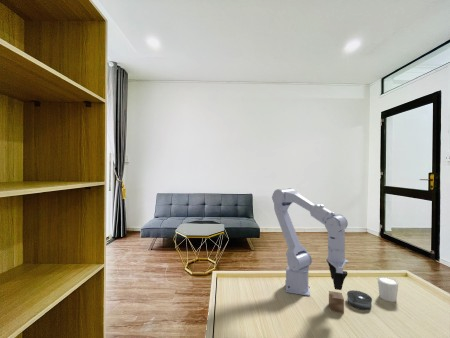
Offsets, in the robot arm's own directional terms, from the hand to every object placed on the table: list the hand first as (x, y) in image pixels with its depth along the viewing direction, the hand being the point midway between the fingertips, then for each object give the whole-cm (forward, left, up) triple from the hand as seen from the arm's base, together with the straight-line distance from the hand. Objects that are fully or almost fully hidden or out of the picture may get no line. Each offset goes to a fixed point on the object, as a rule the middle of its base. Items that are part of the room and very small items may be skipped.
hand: (336, 284), depth 84 cm
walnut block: (0, 0, -9) cm, 9 cm away
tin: (+9, +6, -9) cm, 14 cm away
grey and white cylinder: (+21, +14, -9) cm, 27 cm away
